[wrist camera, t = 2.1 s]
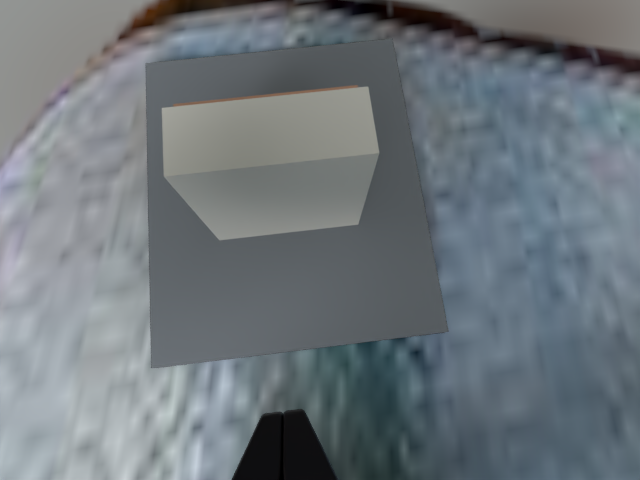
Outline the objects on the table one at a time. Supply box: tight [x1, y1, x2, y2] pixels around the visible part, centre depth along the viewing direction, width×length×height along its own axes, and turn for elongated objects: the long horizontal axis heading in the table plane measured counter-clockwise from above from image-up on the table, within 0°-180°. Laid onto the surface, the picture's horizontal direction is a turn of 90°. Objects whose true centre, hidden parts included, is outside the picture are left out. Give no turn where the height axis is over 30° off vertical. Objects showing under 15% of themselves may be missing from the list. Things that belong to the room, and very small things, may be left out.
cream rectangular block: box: [162, 85, 379, 240], centre depth 18 cm, size 3×7×8 cm, turn 97°
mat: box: [146, 39, 448, 368], centre depth 23 cm, size 16×14×1 cm
